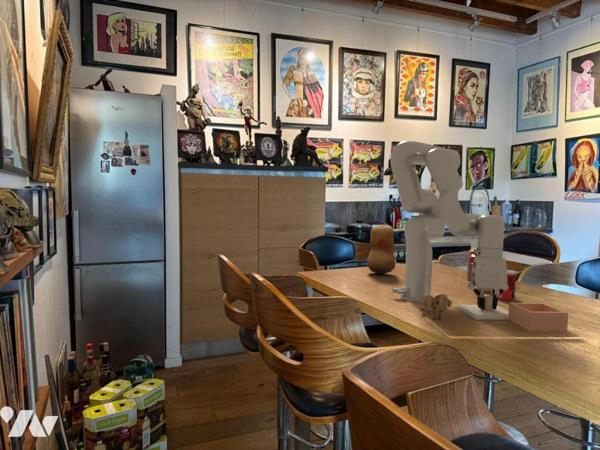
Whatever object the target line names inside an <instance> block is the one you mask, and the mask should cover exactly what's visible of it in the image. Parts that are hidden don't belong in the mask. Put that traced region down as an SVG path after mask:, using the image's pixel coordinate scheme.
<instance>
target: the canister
mask: <svg viewBox="0 0 600 450" xmlns="http://www.w3.org/2000/svg"><path fill="white" fill-rule="evenodd" d="M474 249H477V247H472V248H471V249H469V253H467V257H468V259H467V261H466V263H467V264H466V280H467V281H469V282H470V281H471V275H472V267H473V262H474V259H475V256H477V255H476V253H473V250H474Z"/></svg>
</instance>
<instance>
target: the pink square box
mask: <svg viewBox="0 0 600 450" xmlns="http://www.w3.org/2000/svg"><path fill="white" fill-rule="evenodd" d="M508 311H509V315H508V320H510V321H509V322H512V323H513V324H515V325H517V326H519V327H521V328H523V329H525V330H527V331H528V332H564V333H565V332H568V325H569V312H567V311H565V310H562V309H560V308H557V307H555V306H552V305H550V304H547V303H545V302H508Z"/></svg>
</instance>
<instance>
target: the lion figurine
mask: <svg viewBox="0 0 600 450" xmlns="http://www.w3.org/2000/svg"><path fill="white" fill-rule="evenodd" d="M431 295H432V294H431ZM431 295H427V296H425V298H424V302H423V307H422V308H420V309H419V310H420V311H422V316H423V317H426V312H428V313H431V320H432V321H435V320H436V318H435V316H436V314H437V320H441V317H442V314H443V313H444V312H445V311H447V310H448V308H451V306H452V305H453V301H452V300H450V299H449V298H448V295H447V294H446V293H445V294H444V293H441V294H437V295H436V296H435V295H433V296H434V298H433V296H431ZM426 309H427V310H426Z"/></svg>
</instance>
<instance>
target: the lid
mask: <svg viewBox="0 0 600 450" xmlns="http://www.w3.org/2000/svg"><path fill="white" fill-rule="evenodd" d="M484 298H485V309H484V310H482V309H480V308H478V306H477V304H458V307H459V309H461V310H463V311H464V312H466V313H467V314H469V315H471V316H472V317H474V318H475V319H498V320H508V315H509V310H508V309H505V308H503V307H501V306H499V305H497V309H496V310H494V309H492V308H493V296H492V295H491V294H485V293H484Z"/></svg>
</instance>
